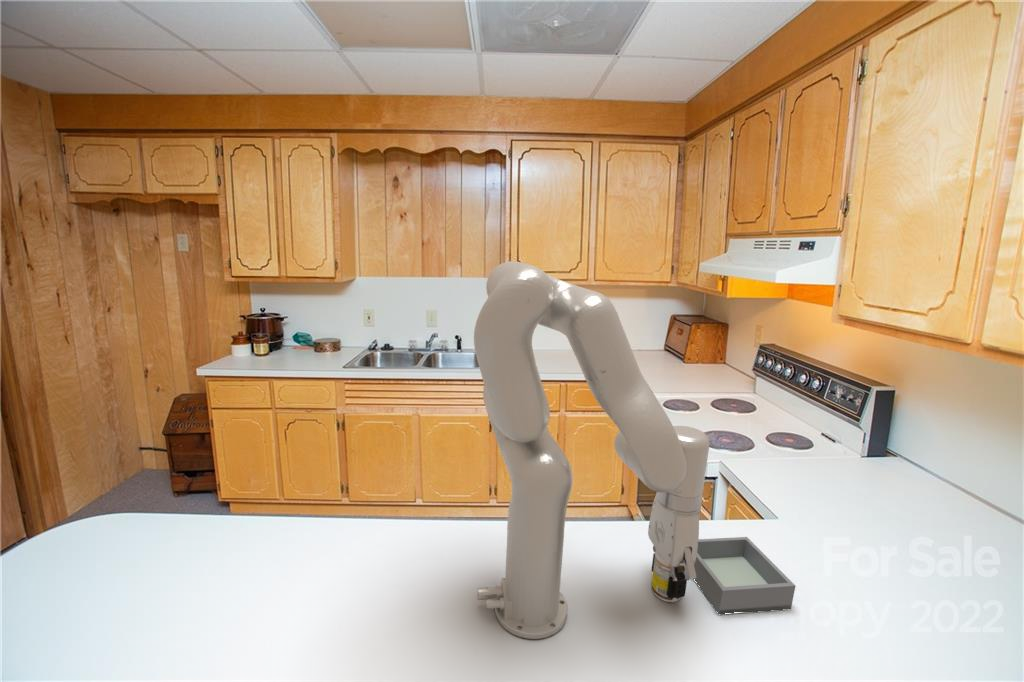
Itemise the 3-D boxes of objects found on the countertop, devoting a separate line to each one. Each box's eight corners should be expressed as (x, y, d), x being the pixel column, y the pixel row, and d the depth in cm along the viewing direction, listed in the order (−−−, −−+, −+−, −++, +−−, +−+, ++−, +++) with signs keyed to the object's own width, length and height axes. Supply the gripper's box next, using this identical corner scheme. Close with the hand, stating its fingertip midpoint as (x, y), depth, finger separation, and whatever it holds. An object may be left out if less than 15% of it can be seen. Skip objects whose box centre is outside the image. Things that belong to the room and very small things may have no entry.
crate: (718, 615, 83) (722, 590, 82) (680, 561, 96) (683, 540, 95) (790, 609, 85) (795, 585, 84) (743, 558, 98) (746, 536, 97)
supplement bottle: (674, 581, 91) (680, 534, 88) (687, 603, 85) (694, 553, 83) (646, 582, 90) (651, 535, 88) (657, 604, 85) (664, 554, 82)
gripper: (639, 472, 91) (630, 554, 95) (682, 525, 74) (669, 622, 78) (675, 471, 92) (665, 552, 96) (726, 523, 76) (711, 619, 79)
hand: (667, 583), depth 87 cm, fingers closed on supplement bottle, 5 cm apart
